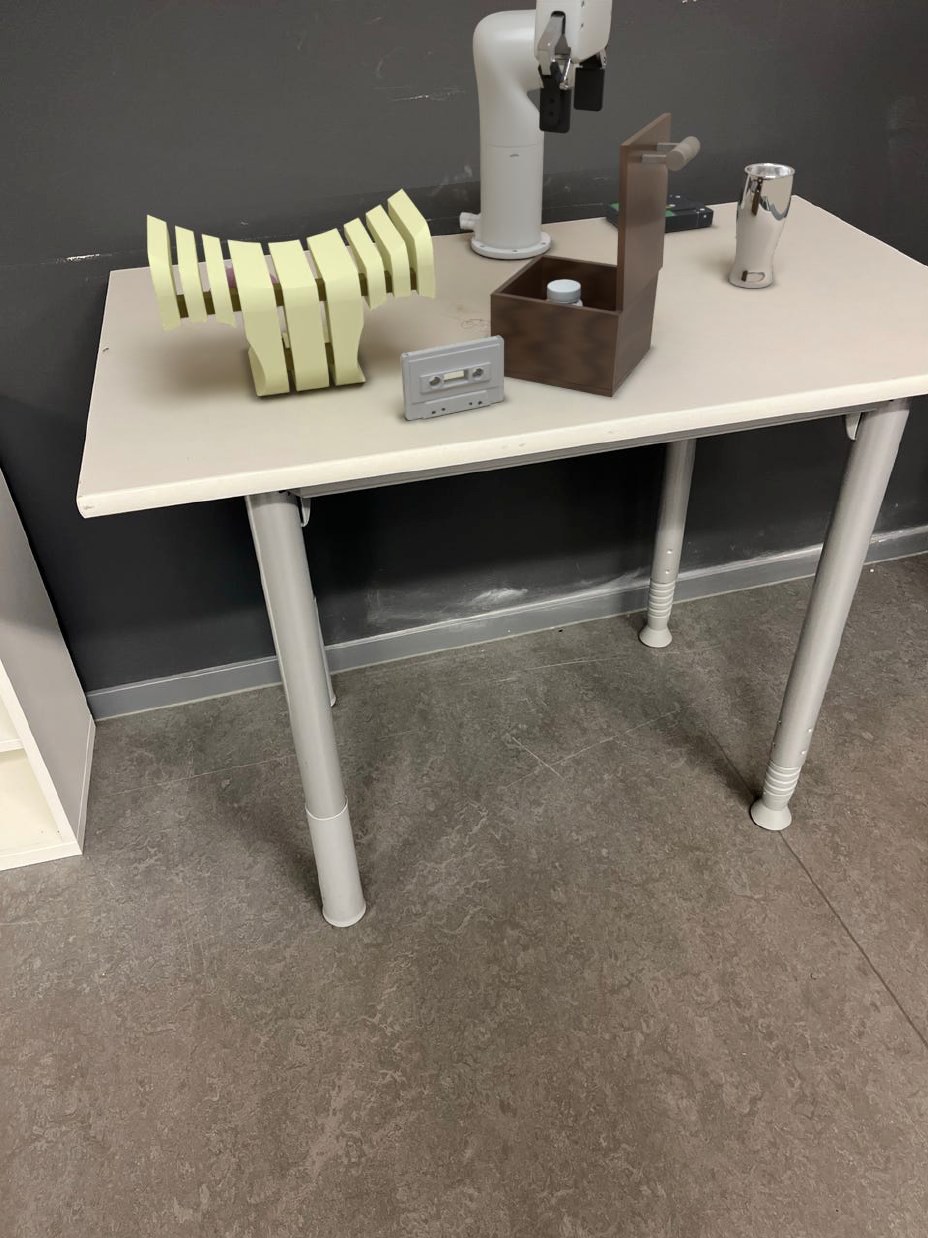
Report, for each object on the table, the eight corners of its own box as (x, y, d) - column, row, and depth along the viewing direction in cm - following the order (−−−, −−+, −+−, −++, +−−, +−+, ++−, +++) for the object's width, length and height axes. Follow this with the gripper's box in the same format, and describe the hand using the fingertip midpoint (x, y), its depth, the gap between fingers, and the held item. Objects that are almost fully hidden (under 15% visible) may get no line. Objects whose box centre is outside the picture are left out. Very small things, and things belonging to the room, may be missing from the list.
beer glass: (770, 272, 136) (791, 162, 126) (778, 290, 131) (800, 176, 121) (722, 271, 137) (739, 162, 127) (728, 289, 131) (746, 176, 122)
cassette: (408, 423, 104) (403, 358, 99) (402, 415, 105) (398, 352, 100) (505, 402, 107) (506, 339, 102) (499, 395, 108) (499, 332, 103)
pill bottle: (584, 346, 116) (588, 280, 111) (575, 362, 113) (579, 294, 107) (547, 342, 117) (550, 276, 112) (537, 357, 114) (539, 290, 108)
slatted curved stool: (185, 417, 106) (147, 260, 94) (181, 360, 118) (147, 214, 106) (439, 382, 111) (432, 229, 100) (410, 330, 123) (402, 188, 111)
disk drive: (682, 209, 160) (604, 218, 156) (685, 192, 158) (605, 201, 154) (712, 227, 152) (631, 237, 149) (715, 210, 150) (633, 219, 147)
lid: (619, 144, 90) (673, 146, 88) (663, 112, 100) (712, 113, 98) (615, 310, 101) (663, 315, 99) (656, 266, 111) (700, 269, 109)
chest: (490, 373, 113) (490, 293, 106) (536, 328, 123) (539, 253, 116) (611, 397, 107) (618, 314, 101) (650, 348, 117) (659, 270, 111)
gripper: (577, -89, 94) (568, 99, 105) (507, -73, 83) (506, 137, 94) (648, -88, 92) (631, 105, 103) (586, -71, 80) (575, 144, 91)
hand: (571, 120), depth 98 cm, fingers open, 9 cm apart
